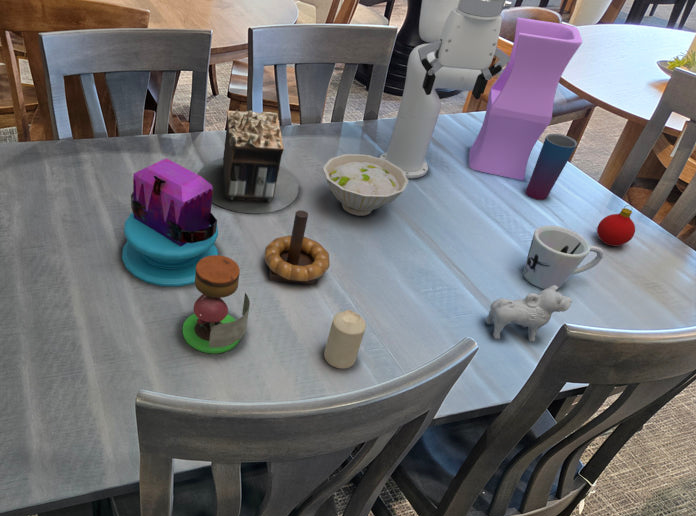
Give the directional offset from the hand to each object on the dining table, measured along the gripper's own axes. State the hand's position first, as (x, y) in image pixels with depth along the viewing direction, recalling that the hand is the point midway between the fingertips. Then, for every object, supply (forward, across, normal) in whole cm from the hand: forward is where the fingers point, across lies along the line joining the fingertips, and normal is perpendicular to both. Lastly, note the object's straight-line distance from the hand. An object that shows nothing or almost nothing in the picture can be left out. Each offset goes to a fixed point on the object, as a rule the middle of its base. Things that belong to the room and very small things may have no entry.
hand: (451, 94), depth 126 cm
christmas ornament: (+31, -44, +2) cm, 54 cm away
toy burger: (+31, +43, +45) cm, 69 cm away
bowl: (+31, +12, -3) cm, 33 cm away
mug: (+31, -27, +18) cm, 44 cm away
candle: (+31, +20, +47) cm, 59 cm away
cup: (+31, -34, -17) cm, 49 cm away
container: (+31, -28, -32) cm, 52 cm away
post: (+30, +28, +23) cm, 47 cm away
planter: (+31, +38, -8) cm, 50 cm away
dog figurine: (+31, -14, +35) cm, 48 cm away
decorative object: (+31, +53, +23) cm, 65 cm away
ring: (+27, +27, +23) cm, 45 cm away
